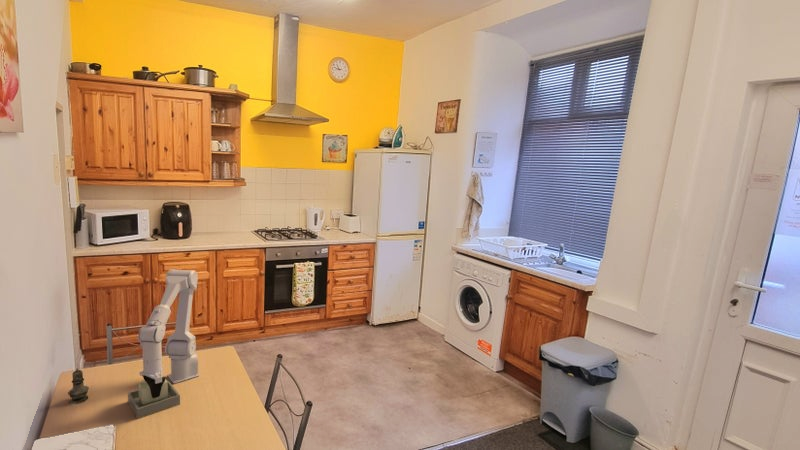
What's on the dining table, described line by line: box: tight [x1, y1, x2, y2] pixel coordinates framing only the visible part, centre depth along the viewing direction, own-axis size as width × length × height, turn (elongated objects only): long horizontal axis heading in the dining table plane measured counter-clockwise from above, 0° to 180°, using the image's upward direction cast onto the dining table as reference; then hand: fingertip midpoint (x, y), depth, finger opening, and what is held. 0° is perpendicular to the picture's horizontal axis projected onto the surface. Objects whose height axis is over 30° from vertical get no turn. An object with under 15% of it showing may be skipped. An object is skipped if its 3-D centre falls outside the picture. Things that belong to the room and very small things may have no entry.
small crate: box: [137, 375, 168, 406], centre depth 144 cm, size 8×5×6 cm, turn 135°
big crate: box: [127, 380, 181, 420], centre depth 144 cm, size 13×13×4 cm
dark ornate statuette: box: [67, 367, 90, 405], centre depth 144 cm, size 6×6×12 cm
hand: (153, 393), depth 144 cm, fingers closed on small crate, 5 cm apart
